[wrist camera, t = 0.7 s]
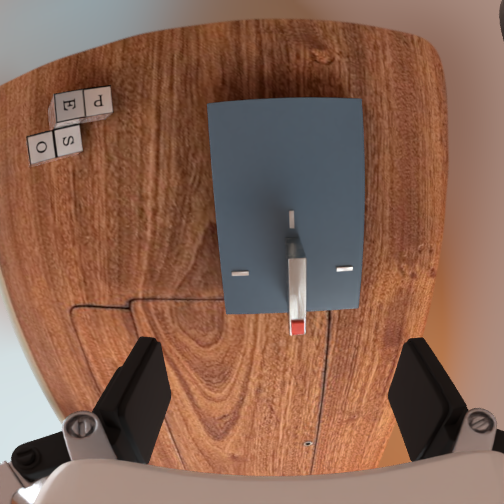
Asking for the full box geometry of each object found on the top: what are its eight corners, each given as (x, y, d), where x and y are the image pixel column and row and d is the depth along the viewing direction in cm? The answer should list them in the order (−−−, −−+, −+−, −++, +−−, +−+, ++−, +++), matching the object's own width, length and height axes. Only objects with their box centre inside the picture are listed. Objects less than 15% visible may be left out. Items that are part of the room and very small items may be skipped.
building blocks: (96, 100, 26) (23, 115, 22) (110, 85, 23) (24, 100, 18) (102, 149, 28) (29, 167, 23) (117, 141, 24) (30, 161, 19)
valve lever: (284, 236, 25) (288, 260, 20) (299, 236, 25) (307, 259, 20) (286, 303, 27) (289, 337, 22) (300, 302, 27) (306, 336, 22)
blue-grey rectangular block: (213, 107, 25) (206, 102, 22) (352, 103, 24) (362, 98, 21) (230, 308, 31) (227, 325, 28) (350, 303, 30) (358, 319, 27)
